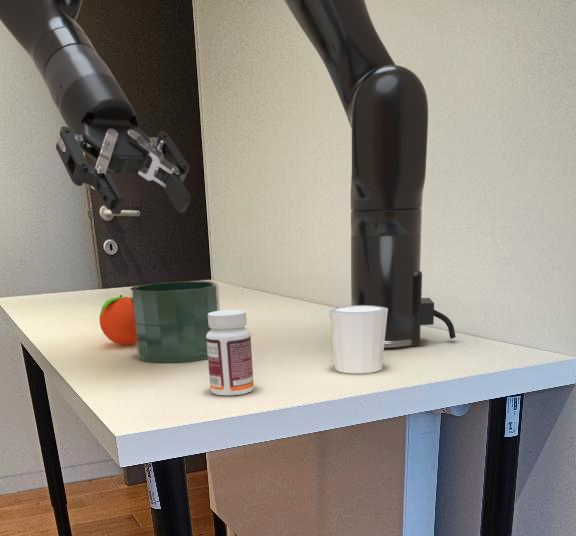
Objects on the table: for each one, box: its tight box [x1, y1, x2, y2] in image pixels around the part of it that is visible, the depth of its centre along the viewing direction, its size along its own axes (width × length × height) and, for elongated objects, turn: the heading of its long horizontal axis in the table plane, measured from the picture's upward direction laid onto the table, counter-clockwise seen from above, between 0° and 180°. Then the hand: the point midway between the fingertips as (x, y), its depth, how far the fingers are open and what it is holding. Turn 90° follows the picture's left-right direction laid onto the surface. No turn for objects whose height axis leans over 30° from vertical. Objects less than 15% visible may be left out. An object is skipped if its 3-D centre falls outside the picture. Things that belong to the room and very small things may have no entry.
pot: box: [129, 280, 221, 364], centre depth 101 cm, size 11×11×9 cm
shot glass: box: [328, 305, 388, 375], centre depth 89 cm, size 7×7×7 cm
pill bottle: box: [206, 309, 255, 397], centre depth 80 cm, size 5×5×8 cm
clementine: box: [99, 294, 136, 346], centre depth 109 cm, size 8×7×7 cm
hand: (153, 207), depth 83 cm, fingers open, 8 cm apart
